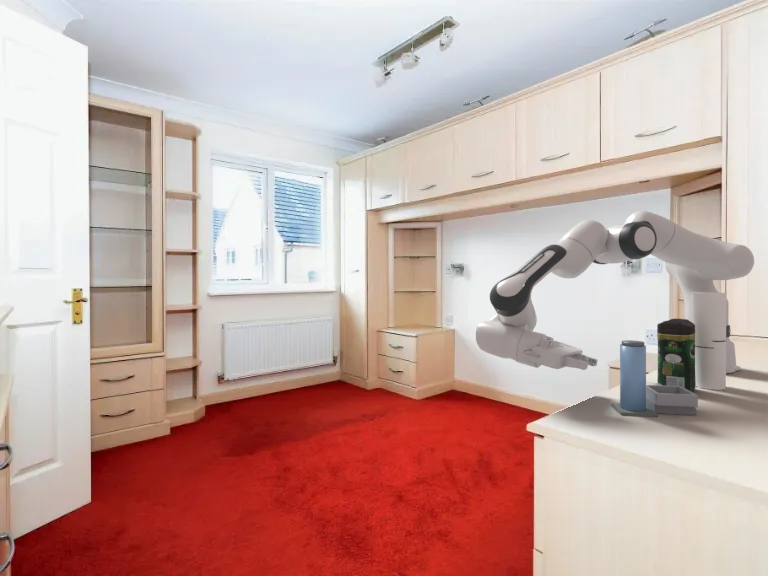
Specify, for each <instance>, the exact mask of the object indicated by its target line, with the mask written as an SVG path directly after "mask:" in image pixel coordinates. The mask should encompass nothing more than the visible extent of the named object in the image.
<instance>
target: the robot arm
mask: <svg viewBox="0 0 768 576" xmlns="http://www.w3.org/2000/svg"><path fill="white" fill-rule="evenodd" d="M649 255H651V256H652V257H655V258H657V259H658V260H661V261H663V262H664V265H665V270H666V272H667V274H669V275H670V276H671V277H672V279H674V280H675V281H676V282H677V284H678V287H679V288H680V291H681V294H682V298H683V303H684V304H683V305H684V319H687V320H689V321H690V322H692V323H693V293H702V292H707V293H720V292H719V291H718V290H717V288H716V286H715V283H714V281H729V280H735V279H741V278H744V277H746V276H748V275H749V274H750V272H751V271H752V270H753V267H754V265H755V256H754V253H753V252H752V250H751V249H750V248H749V247H747V246H746V245H743V244H738V243H732V242H727V241H723V240H720V239H716V238H714V237H710V236H707V235H704V234H701V233H696V232H694V231H692V230H689V229H687V228H685V227H683V226H681V225H679V224H677V223H675V222H674V221H672V220H670V219H668V218H666V217H664V216H662V215H660V214H657V213H654V212H651V211H646V210H637V211H634V212H633V213H631V214H630V215H629V216H627V218H626V219H625V220H624V222H623V223H622V224H617V225H612V226H609V227H605V226H604V225H603V223H600V222H599V221H597V220H595V219H585V220H584V219H583V220H582V221H580V222H579V223H577V224H576V225H575V226H573V227H572V228H570V230H568V231H567V232H566V233H565V234H564V235H563V236H562V237H561V238H560V239H558V241H557V242H556V243H555V244H550V245H548V246H546V247H544V248H542V249H541V250H539V251H538V252H537V253H536V254H534V255H533V256H532V257H531V258H530V259H528V260H527V261H526V262H525V263H524V264H523V265H522V266H520V267H519V268H518V269H517V270H515V271H514V272H513V273H511V274H509V275H508V276H505V277H504V278H502V279H500V280H499V281H497V282H496V283H495V285H493V287H492V288H491V290H490V293H489V301H490V304H491V305H492V307H493V308H494V310H495V312H496V314H495V315H494V316H492V317H491V318H489V319H488V320H484V321H480V322H479V323H478V325H477V327H476V331H475V340H476V341H475V342H476V344H477V346H478V348H479V349H480V350H481V351H483V352H484V353H487V354H490V355H492V356H495V357H498V358H501V359H505V360H506V359H507V360H508V359H509V360H514V361H515V362H516V363H519V364H521V365H525V366H529V367H532V368H537V369H538V368H539V367H541V366H543V367H548V368H551V369H554V370H560V369H563V368H566V367H568V368H573V369H580V370H583V371H585V370H587V369H588V367H589V366H591V367H596V366H597V365H598V361H599V360H598V359H597V358H593V357H590V356H588V355H586V354H583V350H582V349H580V348H577V347H576V346H573V345H570V344H567V343H563V342H561V341H558V340H554V338H553V337H551V336H548V335H547V334H546V333H541V332H536V331H533V330H534V329H535V327H536V325H537V320H538V319H537V314H536V310H535V307H534V304H533V301H532V293H533V289H534V287H535V286H536V285H538V284H539V283H540V282H541V281H542V280H543V279H544V278H545V277H546V276H548V275H549V274H550V273H551V274H553V275H555V276H557V277H559V278H564V279H576V278H578V277H579V276H581V275H582V274H583V273H584V272H585V271H586V270H587V269H588V268H589V267H590V266H591V265H592V263H594V264H597V265H607V264H621V263H625V262H630V261H634V260H641V259H644V258H646V257H647V256H649ZM730 337H731V325H730V324H729V300H728V299H727V297H726V374H731V373H735V372H737V371H741V366H739V365H737V360H736V357H737V356H736V347H735V345H736V344H735V343H734V342H733V341H732V340H731V339H730Z"/></svg>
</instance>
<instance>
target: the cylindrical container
mask: <svg viewBox="0 0 768 576" xmlns="http://www.w3.org/2000/svg"><path fill="white" fill-rule="evenodd" d="M726 298H727V292H719V293H707V292H702V293H693V323H694V324H695V380H696V386H697V387H696V388H698V387H700V388H699V389H703V388H705V390H710V389H713V391H721V390H723V389H724V390H726V389H727V387H726V386H727V384H726V383H727V373H726Z"/></svg>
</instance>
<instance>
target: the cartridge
mask: <svg viewBox="0 0 768 576" xmlns="http://www.w3.org/2000/svg"><path fill="white" fill-rule="evenodd" d="M646 382H647V345H646V344H645V342H644V341H640V340H626V339H625V340H621V343H620V344H619V393H620V394H619V403H620V407H621V408H622V409H625V410H628V411H636V412H642V411H646Z"/></svg>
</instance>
